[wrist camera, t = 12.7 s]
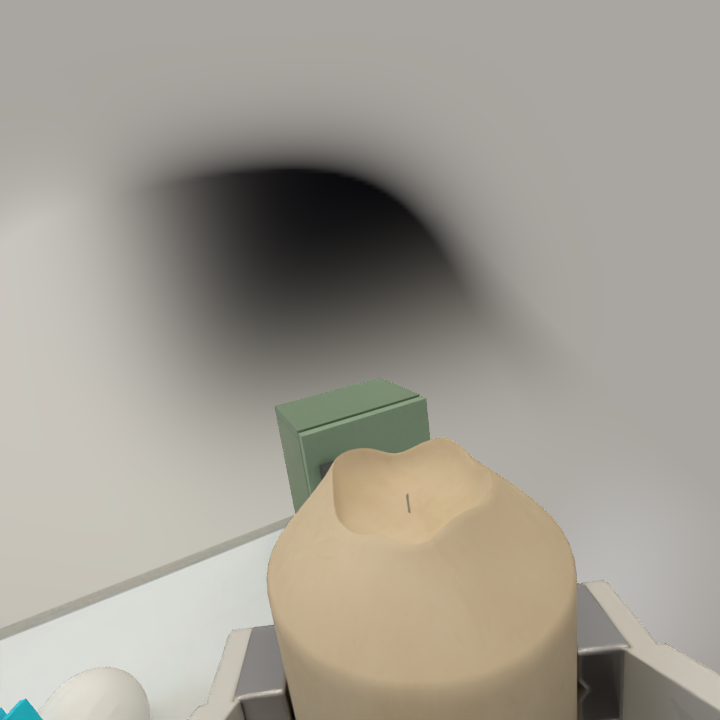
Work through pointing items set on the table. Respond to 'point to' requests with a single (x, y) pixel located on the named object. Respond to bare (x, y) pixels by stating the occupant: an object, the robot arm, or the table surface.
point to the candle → (424, 594)
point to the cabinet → (328, 421)
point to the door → (364, 436)
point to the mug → (90, 699)
